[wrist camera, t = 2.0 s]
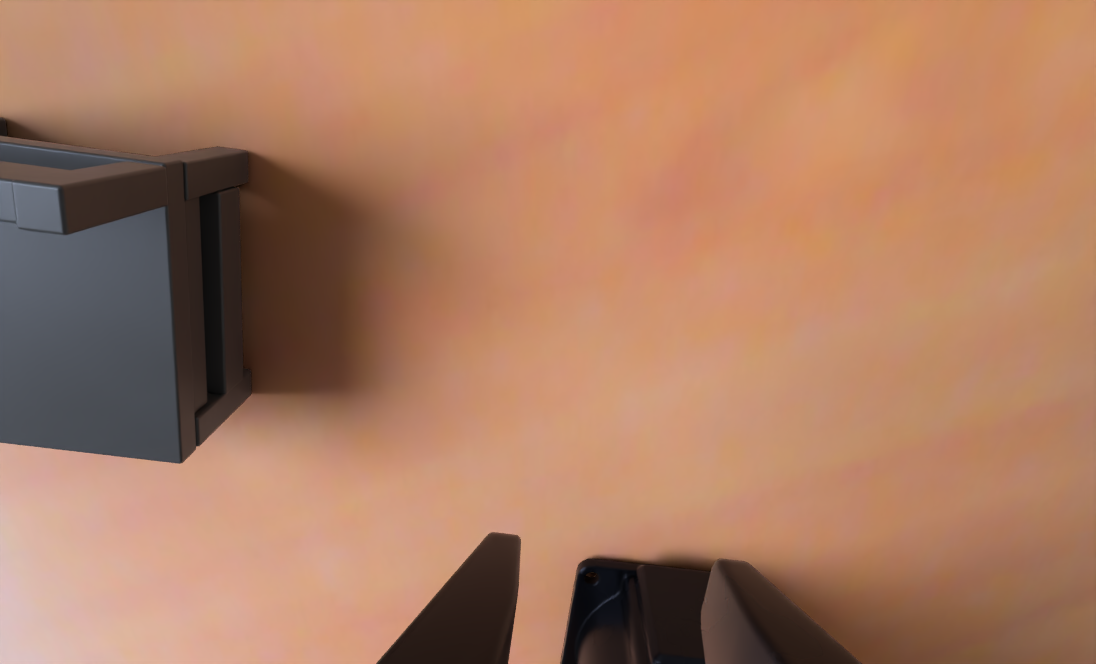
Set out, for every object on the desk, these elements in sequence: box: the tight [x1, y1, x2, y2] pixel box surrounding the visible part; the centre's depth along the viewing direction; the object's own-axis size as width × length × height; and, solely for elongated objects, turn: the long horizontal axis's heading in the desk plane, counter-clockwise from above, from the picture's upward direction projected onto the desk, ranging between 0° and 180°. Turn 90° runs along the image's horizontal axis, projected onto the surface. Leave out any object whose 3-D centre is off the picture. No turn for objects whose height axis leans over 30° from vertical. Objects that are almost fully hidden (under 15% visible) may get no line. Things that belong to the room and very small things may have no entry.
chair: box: [0, 117, 252, 464], centre depth 16 cm, size 8×8×8 cm
